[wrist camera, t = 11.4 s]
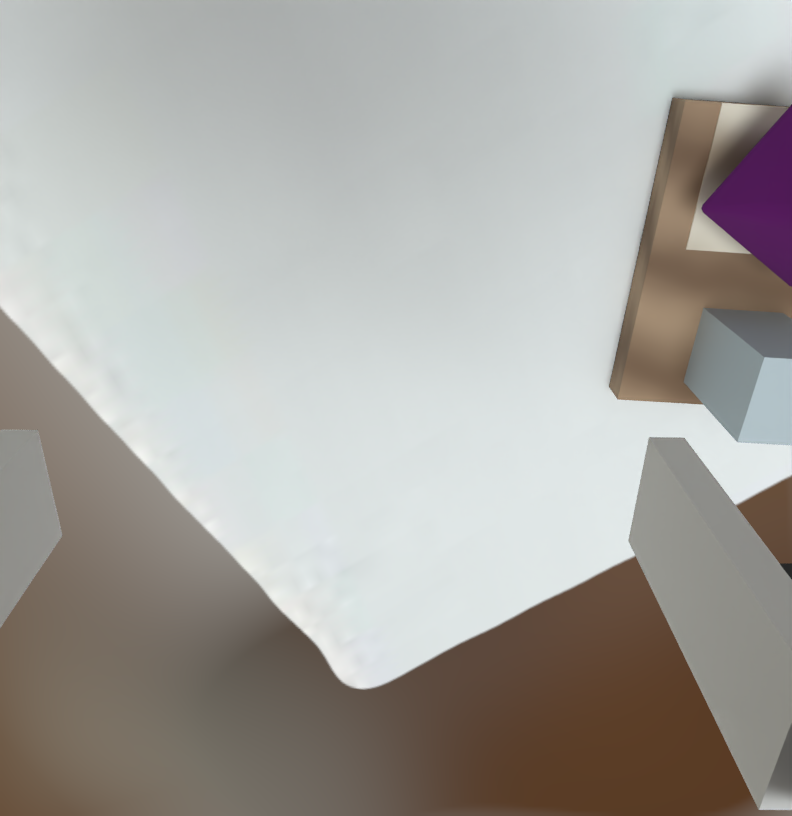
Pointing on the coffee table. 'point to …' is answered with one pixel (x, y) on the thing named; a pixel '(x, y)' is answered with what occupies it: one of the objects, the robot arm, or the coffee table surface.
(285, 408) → the coffee table surface
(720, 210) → the perfume bottle
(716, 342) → the tea tin
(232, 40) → the coffee table surface
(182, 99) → the coffee table surface
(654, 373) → the display board
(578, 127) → the coffee table surface
